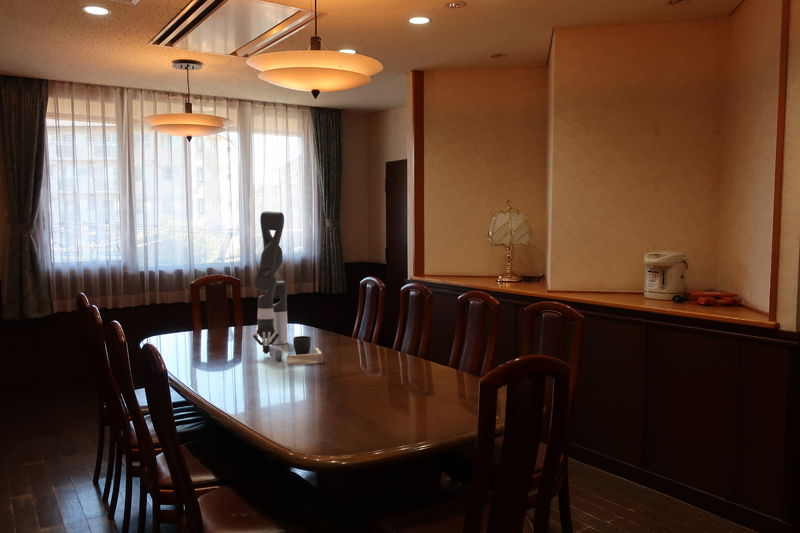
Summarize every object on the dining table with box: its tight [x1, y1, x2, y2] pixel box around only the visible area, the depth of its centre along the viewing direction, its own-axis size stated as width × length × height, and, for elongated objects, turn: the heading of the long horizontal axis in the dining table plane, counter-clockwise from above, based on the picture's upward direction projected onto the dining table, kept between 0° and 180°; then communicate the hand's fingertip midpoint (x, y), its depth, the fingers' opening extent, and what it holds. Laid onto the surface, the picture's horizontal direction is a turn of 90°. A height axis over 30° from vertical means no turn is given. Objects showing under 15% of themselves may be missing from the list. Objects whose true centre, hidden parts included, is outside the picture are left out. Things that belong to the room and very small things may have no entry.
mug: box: [292, 335, 312, 355], centre depth 285 cm, size 8×12×10 cm
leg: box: [268, 345, 280, 362], centre depth 282 cm, size 14×3×4 cm, turn 23°
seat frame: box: [286, 347, 324, 366], centre depth 277 cm, size 15×16×4 cm
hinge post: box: [276, 349, 283, 363], centre depth 274 cm, size 2×2×5 cm
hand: (266, 353), depth 284 cm, fingers closed
